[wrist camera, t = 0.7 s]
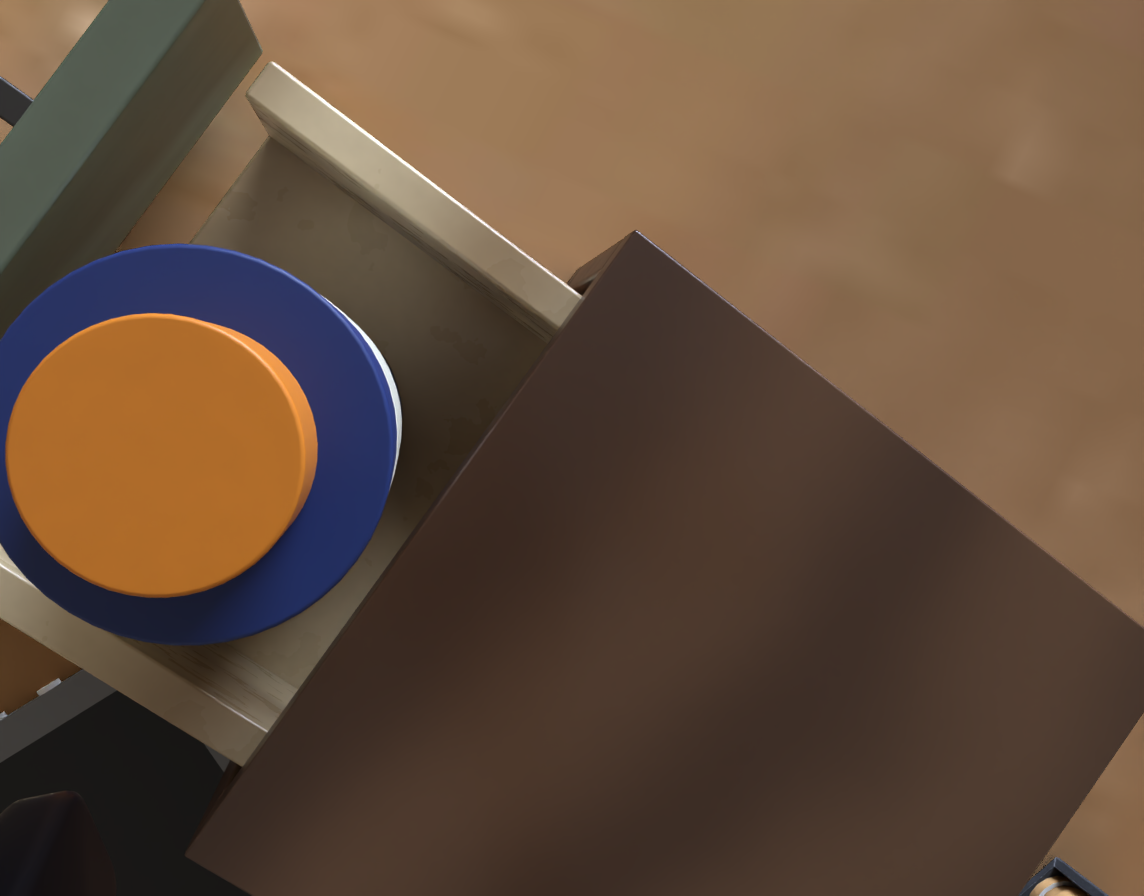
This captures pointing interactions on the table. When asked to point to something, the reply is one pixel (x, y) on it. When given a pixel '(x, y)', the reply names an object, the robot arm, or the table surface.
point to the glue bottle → (190, 444)
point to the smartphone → (118, 780)
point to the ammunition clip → (1060, 882)
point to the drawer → (291, 242)
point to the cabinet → (688, 650)
